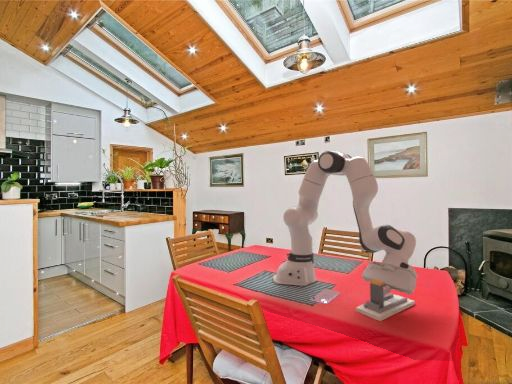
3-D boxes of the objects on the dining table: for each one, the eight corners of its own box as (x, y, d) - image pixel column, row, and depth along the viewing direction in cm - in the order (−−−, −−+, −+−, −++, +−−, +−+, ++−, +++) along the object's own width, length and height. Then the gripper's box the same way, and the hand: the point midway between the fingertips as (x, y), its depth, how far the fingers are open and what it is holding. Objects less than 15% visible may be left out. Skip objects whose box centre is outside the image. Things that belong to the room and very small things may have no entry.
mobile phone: (340, 291, 126) (326, 302, 114) (340, 293, 126) (326, 305, 114) (324, 288, 131) (309, 298, 119) (324, 290, 131) (309, 300, 119)
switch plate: (391, 296, 120) (390, 287, 120) (414, 304, 112) (414, 294, 112) (356, 311, 107) (355, 301, 107) (379, 321, 99) (379, 310, 99)
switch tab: (374, 304, 109) (373, 278, 109) (384, 307, 105) (383, 281, 105) (370, 305, 107) (369, 280, 107) (380, 309, 104) (379, 283, 104)
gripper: (367, 256, 120) (353, 283, 115) (416, 267, 103) (402, 299, 98) (373, 264, 122) (360, 291, 117) (422, 276, 105) (409, 308, 100)
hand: (379, 295), depth 107 cm, fingers closed
